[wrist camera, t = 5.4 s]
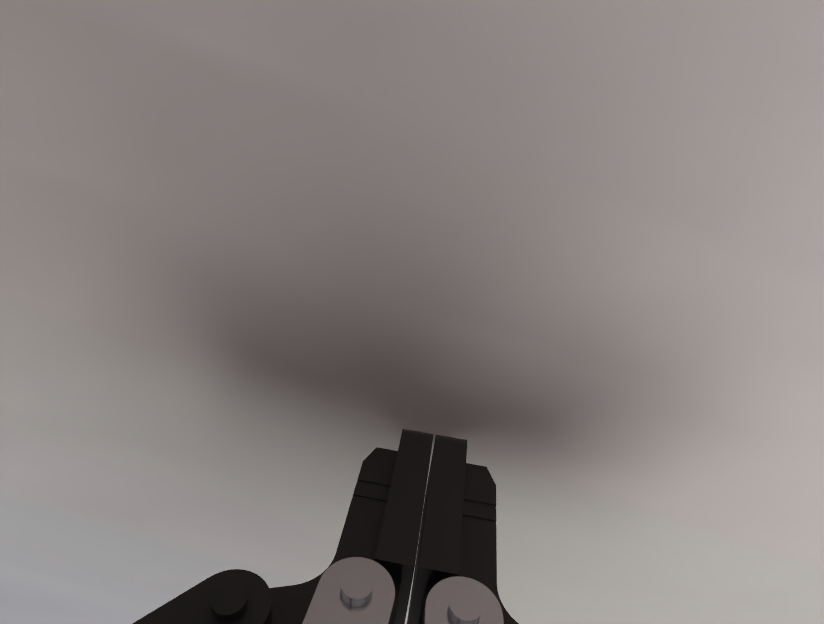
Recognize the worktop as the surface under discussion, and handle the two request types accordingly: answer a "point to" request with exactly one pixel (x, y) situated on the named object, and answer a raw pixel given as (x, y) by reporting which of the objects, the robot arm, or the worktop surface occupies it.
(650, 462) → the worktop surface
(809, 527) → the worktop surface
